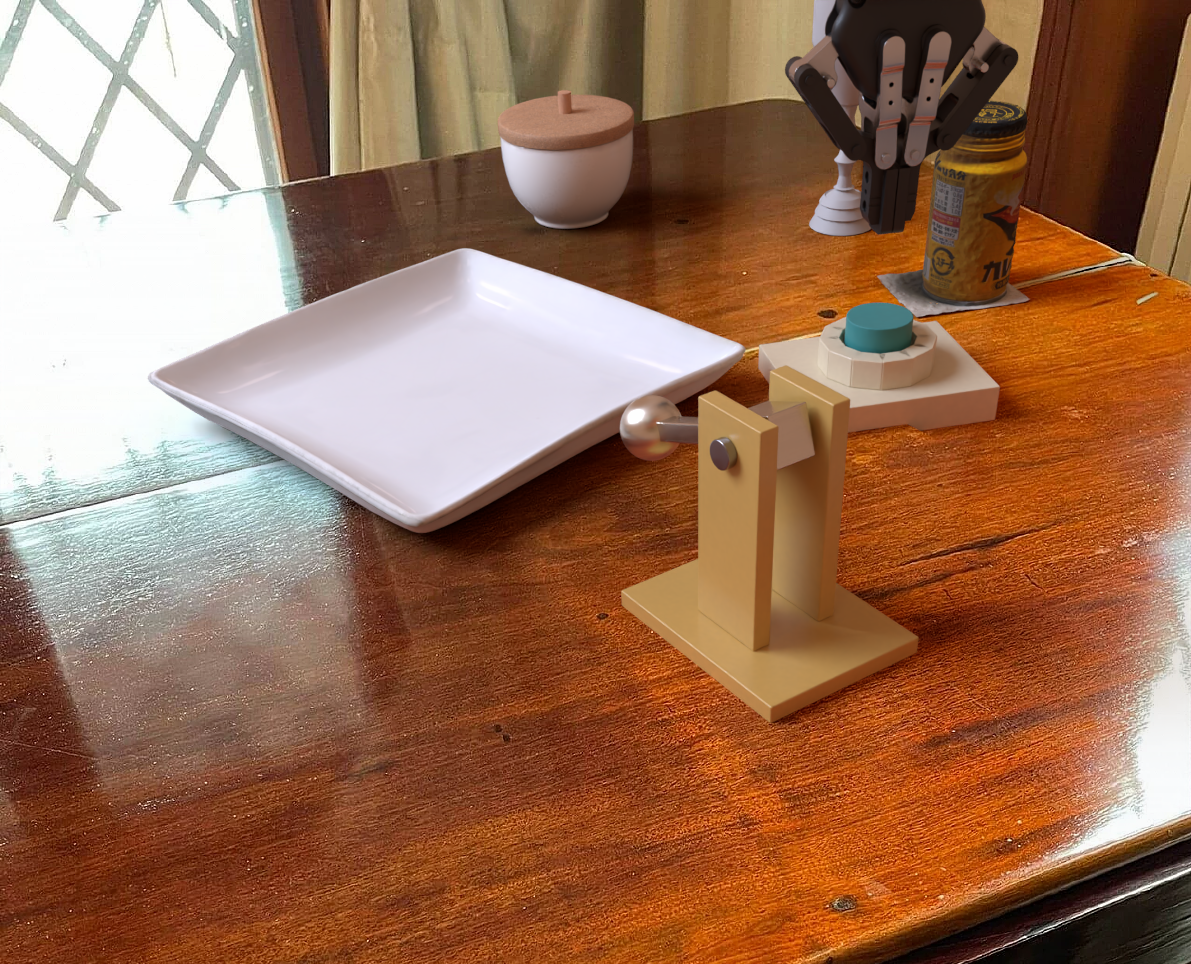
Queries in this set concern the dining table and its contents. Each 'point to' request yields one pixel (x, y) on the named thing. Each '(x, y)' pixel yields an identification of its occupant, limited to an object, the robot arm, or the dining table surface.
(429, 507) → the square plate
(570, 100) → the lidded sugar bowl
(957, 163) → the condiment
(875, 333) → the button
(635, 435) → the tap lever
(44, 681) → the dining table surface
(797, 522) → the lever stand
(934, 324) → the cream button base
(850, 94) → the chalice
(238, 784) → the dining table surface
